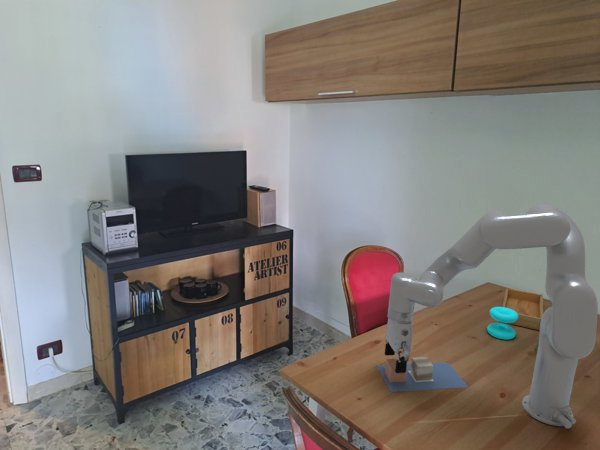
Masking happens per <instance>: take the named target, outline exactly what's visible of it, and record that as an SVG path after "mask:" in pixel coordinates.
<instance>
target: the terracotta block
mask: <svg viewBox="0 0 600 450" xmlns="http://www.w3.org/2000/svg"><path fill="white" fill-rule="evenodd" d="M396 360H398V359H397V358H387V359H385V365H386V367H385V374H386V376H387V378H388V380H389V381H390V383H392V382H406V373H407V366H406V372H405V373H396V372H395V368H396Z"/></svg>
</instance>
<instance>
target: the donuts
mask: <svg viewBox="0 0 600 450" xmlns="http://www.w3.org/2000/svg"><path fill="white" fill-rule="evenodd" d="M489 315H490V316H491V318H492V319H493V320H495V321H497V322H492V323H489V325H488V326H487V329H486V330H487V333H488V334H490V336H492V337H494V338H496V339H500V340H504V341H505V340H506V341H507V340H512V339H514V338H515V337H516V334H517V333H516V331H515V328H513V327H512V326H511V325H510V324H508V323H513V322H515V321H517V320H518V314H517V313H516V312H515V311H514V310H512V309H509V308H505V307H502V306H494V307H492V308H490V310H489Z"/></svg>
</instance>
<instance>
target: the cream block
mask: <svg viewBox="0 0 600 450" xmlns="http://www.w3.org/2000/svg"><path fill="white" fill-rule="evenodd" d="M432 363H433V362H431V360H429V358H428V357H427V356H425V357H424V356H423V357H418V356H417V357H411V363H410V364H411V371H410V372H411V373H412V375H413V376H414V378H415V379H416V381H423V380H432V374H433V365H432Z"/></svg>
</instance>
